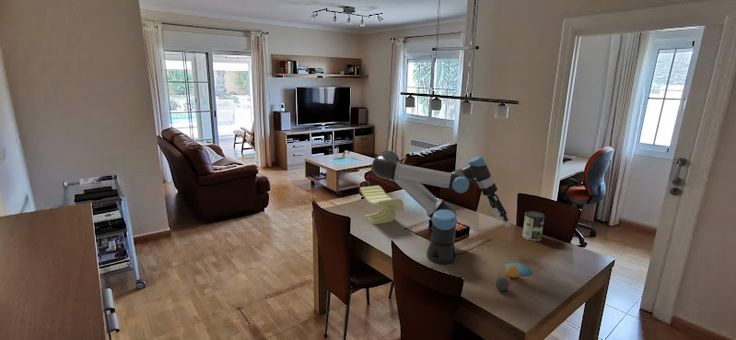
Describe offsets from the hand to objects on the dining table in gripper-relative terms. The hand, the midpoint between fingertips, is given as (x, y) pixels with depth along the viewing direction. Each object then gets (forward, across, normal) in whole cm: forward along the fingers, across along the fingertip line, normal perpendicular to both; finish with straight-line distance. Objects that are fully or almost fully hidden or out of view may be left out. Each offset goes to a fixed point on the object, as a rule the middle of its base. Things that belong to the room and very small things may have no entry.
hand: (504, 222), depth 188 cm
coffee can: (+24, +23, -14) cm, 37 cm away
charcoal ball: (+11, -34, +17) cm, 40 cm away
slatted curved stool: (-18, +42, +63) cm, 78 cm away
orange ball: (+14, -23, +9) cm, 28 cm away
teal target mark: (+18, -15, +6) cm, 24 cm away
